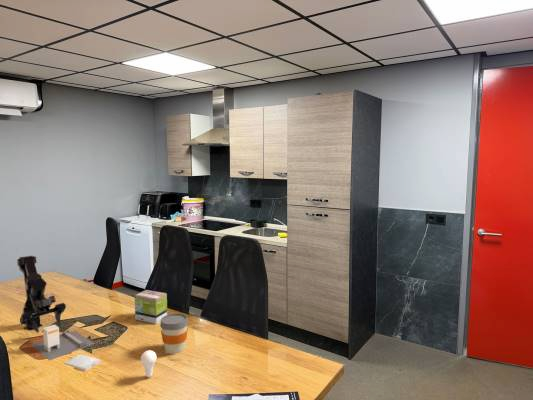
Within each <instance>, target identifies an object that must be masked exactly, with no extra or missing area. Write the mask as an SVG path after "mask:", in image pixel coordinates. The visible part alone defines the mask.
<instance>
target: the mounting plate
mask: <svg viewBox="0 0 533 400" xmlns="http://www.w3.org/2000/svg"><path fill="white" fill-rule="evenodd" d="M69 333H70V334H71V335H73V336H74V337H76V338H77V339H79V340H80V341H82V342H85V341H86V346H84V347H81V348H79V345H77V344H76V343H75V342H73V341H72V340H70V339H69V338H67V337H66V336H62V334H59V340H60V348H58V349H57V348H56V347H55V346H52V347H50V348H51V351H50V352H48V351H47V350H45V349H44V340H43V341H39V342H36V343H33V344H31V346H32V347H33V348H34V349H36V350H37V351H38V353H41V355H42V356H44V357H45V358H46V359H48V361H52V360H54V359H57V358H61V357H63V356H66V355H68V354H71V353H73V352H77V351H78V350H82V349H84V348H86V347H89V346H92V345H95V342H93V341H92V340H91V339H89V338H87V337H85V336H84V335H83V334H81V333H79V332H78V331H76V330H73V331H69Z"/></svg>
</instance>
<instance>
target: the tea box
mask: <svg viewBox="0 0 533 400" xmlns="http://www.w3.org/2000/svg"><path fill="white" fill-rule="evenodd" d="M167 298H168V294H167V292H162V291H161V292H160V291H156V290H155V291H154V290H148V289H144V290H143V291H141V292H139V293H137V294H134V315H135V316H134V317H135V320H136V321H141V322H145V323H148V324H149V323H150V324H152V325H153V324H154V325H158V324H159V323H161V319H162V318H163V317H164V316H166V315H168V299H167Z"/></svg>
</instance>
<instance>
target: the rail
mask: <svg viewBox="0 0 533 400" xmlns="http://www.w3.org/2000/svg"><path fill="white" fill-rule="evenodd" d="M69 332H70V330H69V329H67V330H65V331H61V335H62V336H66V337H67V338H69V339H70V340H72V341H73V342H75V343H76V344H77V345H79V348H81V347H84V346H86V341H85V342H82V341H80V340H79V339H77V338H76V337H74V336H73V335H71V334H70V333H69ZM84 348H85V347H84Z"/></svg>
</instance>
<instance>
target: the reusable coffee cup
mask: <svg viewBox="0 0 533 400" xmlns="http://www.w3.org/2000/svg"><path fill="white" fill-rule="evenodd" d="M188 325H189V319H188V316H187V315H186V314H184V313H169V314H167V315H166V316H164V317H163V318H162V319H161V322H160V328H161V332H160V333H161V339H162V343H163V346H164V351H165V353H166V354H168V353H169V355H177V354H176V353H178V354H181V353H183V352H184V351H185V347H186V340H187V338H188V337H187V336H188ZM183 350H184V351H183ZM180 352H181V353H180Z"/></svg>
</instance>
